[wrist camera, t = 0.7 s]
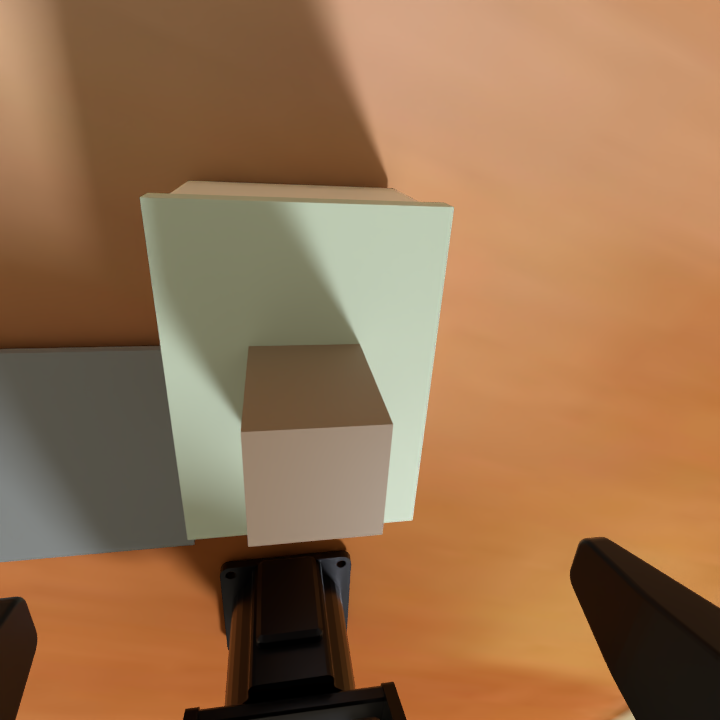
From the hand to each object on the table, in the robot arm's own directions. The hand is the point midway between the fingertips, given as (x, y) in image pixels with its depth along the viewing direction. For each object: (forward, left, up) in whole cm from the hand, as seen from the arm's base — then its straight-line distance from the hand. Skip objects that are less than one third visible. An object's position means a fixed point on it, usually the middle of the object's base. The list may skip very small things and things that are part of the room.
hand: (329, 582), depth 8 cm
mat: (-6, +9, -12) cm, 16 cm away
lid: (0, 0, -7) cm, 7 cm away
